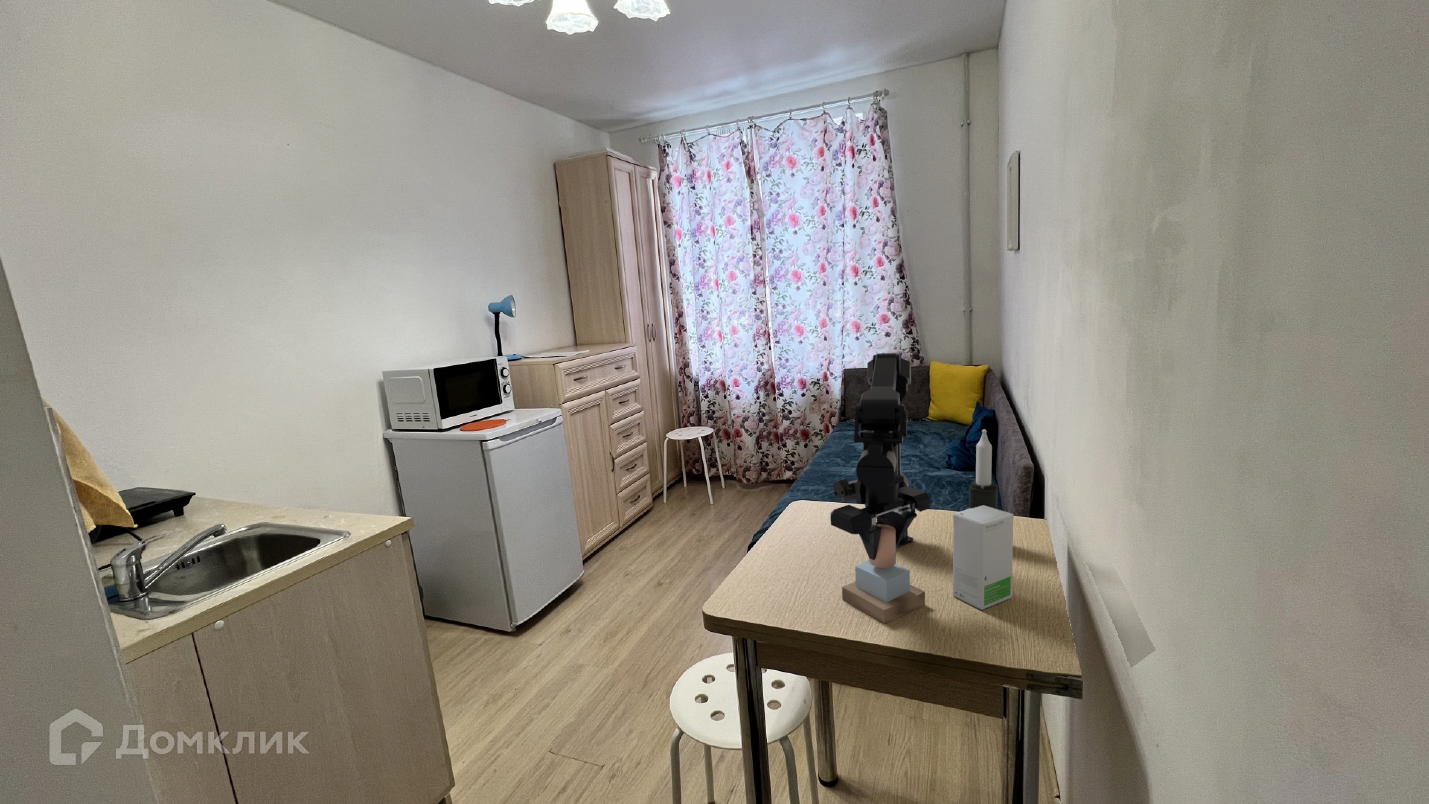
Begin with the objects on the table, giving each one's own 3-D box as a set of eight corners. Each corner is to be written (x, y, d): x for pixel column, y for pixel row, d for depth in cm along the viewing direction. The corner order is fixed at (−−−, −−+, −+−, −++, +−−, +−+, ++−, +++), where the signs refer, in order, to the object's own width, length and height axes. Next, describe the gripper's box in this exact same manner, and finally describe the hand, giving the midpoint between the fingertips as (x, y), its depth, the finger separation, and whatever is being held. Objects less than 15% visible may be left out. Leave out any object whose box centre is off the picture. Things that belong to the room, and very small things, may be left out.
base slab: (881, 583, 111) (881, 570, 110) (924, 604, 102) (924, 591, 102) (842, 599, 106) (842, 586, 106) (884, 624, 97) (884, 610, 97)
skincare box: (981, 611, 99) (982, 525, 96) (949, 595, 105) (950, 513, 102) (1013, 597, 103) (1016, 513, 100) (981, 582, 109) (982, 502, 106)
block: (878, 576, 108) (878, 556, 108) (909, 591, 102) (909, 569, 102) (855, 587, 105) (855, 566, 104) (886, 602, 99) (886, 580, 99)
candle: (997, 541, 125) (999, 427, 121) (994, 550, 121) (996, 433, 117) (971, 537, 128) (973, 425, 123) (967, 546, 124) (968, 431, 119)
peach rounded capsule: (881, 553, 106) (881, 522, 105) (901, 562, 102) (901, 530, 101) (863, 560, 104) (862, 528, 103) (882, 570, 100) (882, 537, 99)
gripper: (883, 450, 111) (884, 527, 114) (807, 470, 102) (811, 554, 105) (932, 462, 102) (932, 546, 105) (853, 486, 93) (855, 577, 95)
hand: (882, 555), depth 103 cm, fingers closed on peach rounded capsule, 5 cm apart
